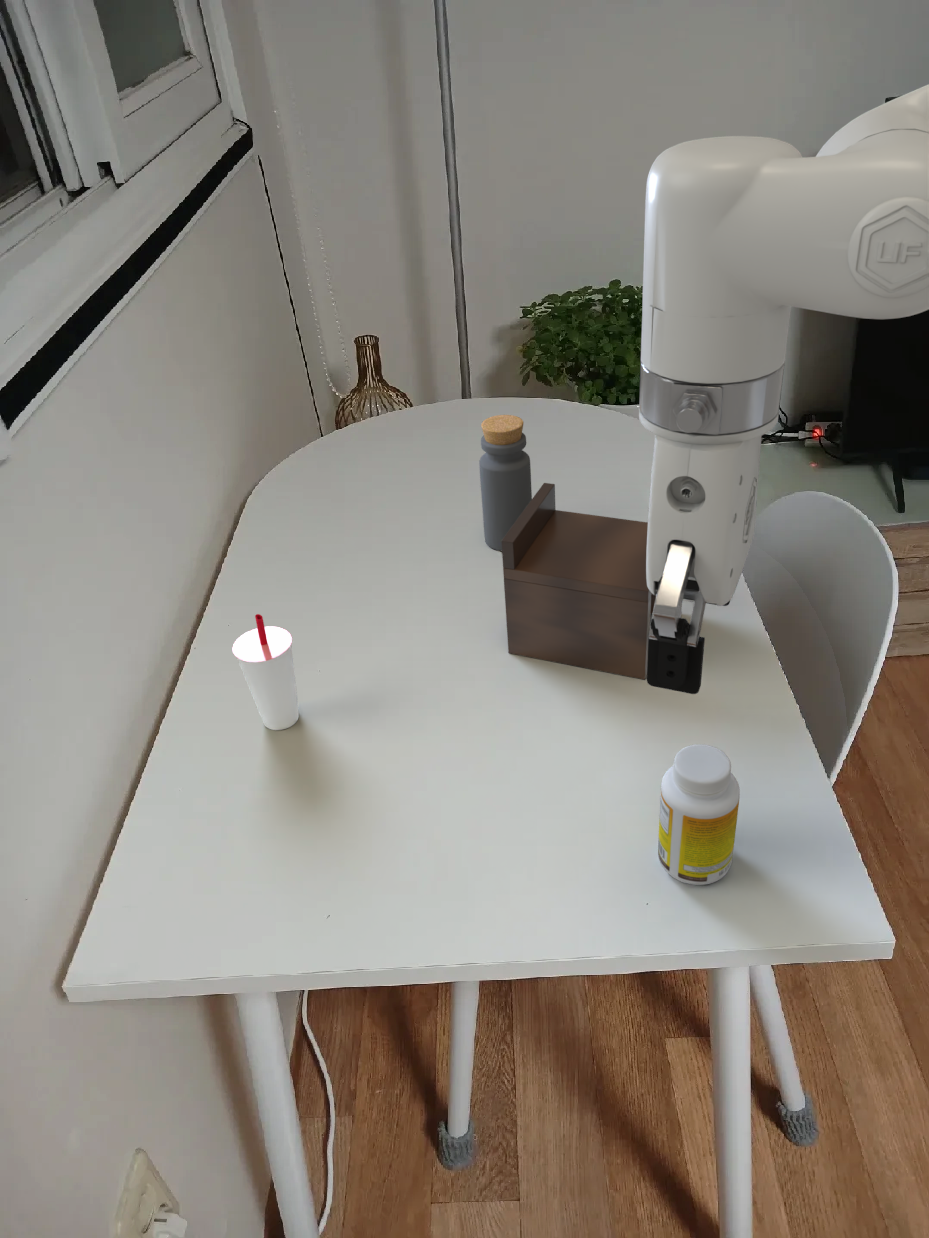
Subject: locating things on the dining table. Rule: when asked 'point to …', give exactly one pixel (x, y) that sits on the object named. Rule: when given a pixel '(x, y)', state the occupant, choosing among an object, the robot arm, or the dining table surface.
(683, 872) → the supplement bottle
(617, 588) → the shelf
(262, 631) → the cup
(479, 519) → the dining table surface
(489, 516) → the bottle
